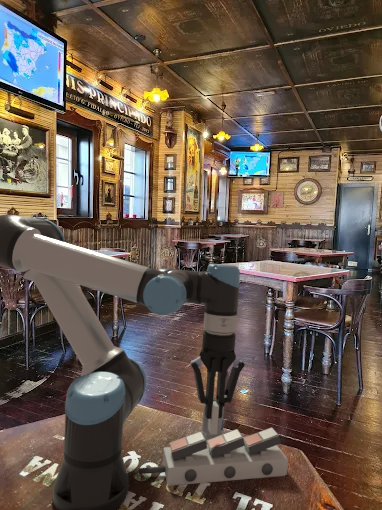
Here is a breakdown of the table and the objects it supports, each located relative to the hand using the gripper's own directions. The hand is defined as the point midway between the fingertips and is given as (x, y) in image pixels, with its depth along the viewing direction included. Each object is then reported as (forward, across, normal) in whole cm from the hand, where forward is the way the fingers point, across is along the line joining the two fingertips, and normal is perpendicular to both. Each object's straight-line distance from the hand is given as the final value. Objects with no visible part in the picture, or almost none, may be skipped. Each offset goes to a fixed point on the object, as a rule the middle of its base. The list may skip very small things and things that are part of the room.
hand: (212, 431), depth 86 cm
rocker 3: (+4, +13, 0) cm, 13 cm away
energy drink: (+10, +3, +9) cm, 14 cm away
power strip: (+9, 0, 0) cm, 9 cm away
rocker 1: (+3, -6, 0) cm, 6 cm away
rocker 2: (+3, +3, 0) cm, 4 cm away
